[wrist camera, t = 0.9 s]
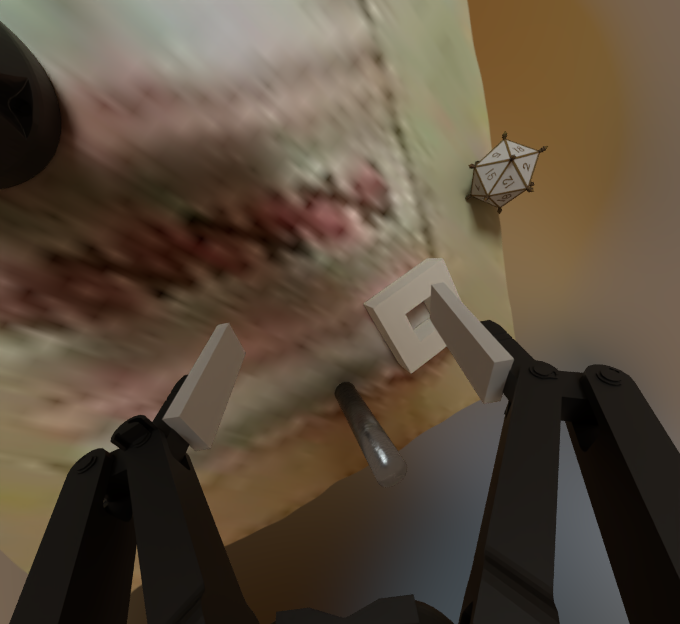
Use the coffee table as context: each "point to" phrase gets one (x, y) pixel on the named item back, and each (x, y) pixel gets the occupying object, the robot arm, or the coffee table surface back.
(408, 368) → the socket block
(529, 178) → the game die
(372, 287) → the coffee table surface
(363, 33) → the coffee table surface
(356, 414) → the pin
